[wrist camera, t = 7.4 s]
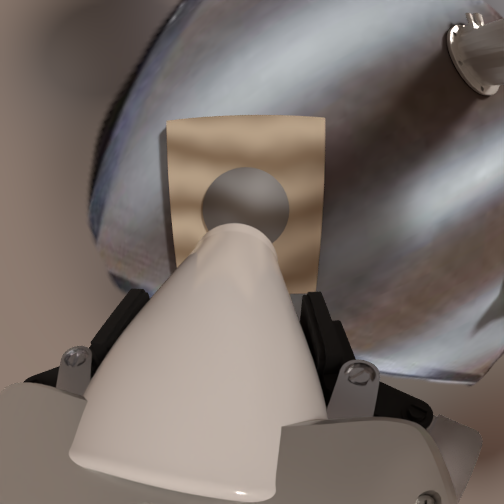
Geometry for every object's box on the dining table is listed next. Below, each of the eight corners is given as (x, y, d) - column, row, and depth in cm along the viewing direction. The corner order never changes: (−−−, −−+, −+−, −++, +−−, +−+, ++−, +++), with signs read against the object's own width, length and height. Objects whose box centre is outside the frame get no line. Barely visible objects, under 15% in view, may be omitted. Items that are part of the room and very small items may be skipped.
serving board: (170, 121, 29) (165, 120, 27) (322, 119, 28) (325, 117, 27) (183, 287, 37) (179, 293, 35) (313, 287, 36) (315, 294, 35)
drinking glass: (265, 191, 16) (304, 465, 2) (302, 286, 18) (356, 521, 4) (167, 233, 17) (7, 433, 3) (212, 316, 19) (164, 528, 5)
